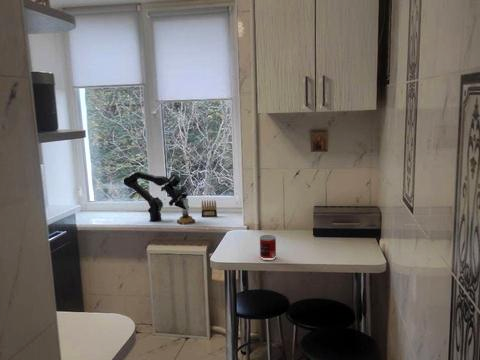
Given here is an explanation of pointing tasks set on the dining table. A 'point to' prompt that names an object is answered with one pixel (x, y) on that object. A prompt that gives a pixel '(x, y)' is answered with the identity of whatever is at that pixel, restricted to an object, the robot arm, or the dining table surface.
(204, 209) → the ammunition clip
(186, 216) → the drive pin
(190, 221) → the sprocket
